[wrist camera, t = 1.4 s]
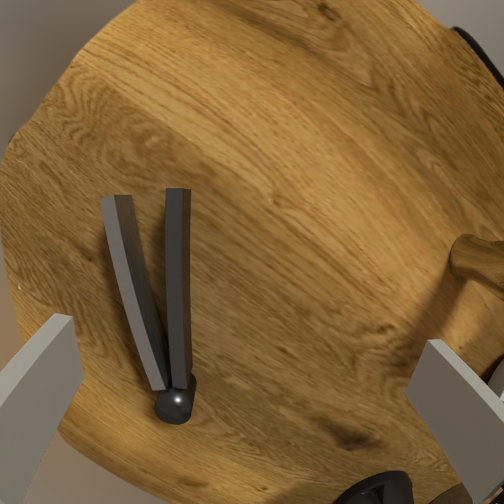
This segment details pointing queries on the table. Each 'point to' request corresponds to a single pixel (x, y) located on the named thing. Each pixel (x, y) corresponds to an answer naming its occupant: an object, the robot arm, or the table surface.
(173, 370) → the blade
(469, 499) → the brown lidded jar
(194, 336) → the table surface
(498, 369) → the cereal bowl
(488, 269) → the beer glass
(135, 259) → the bar
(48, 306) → the table surface
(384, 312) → the table surface
